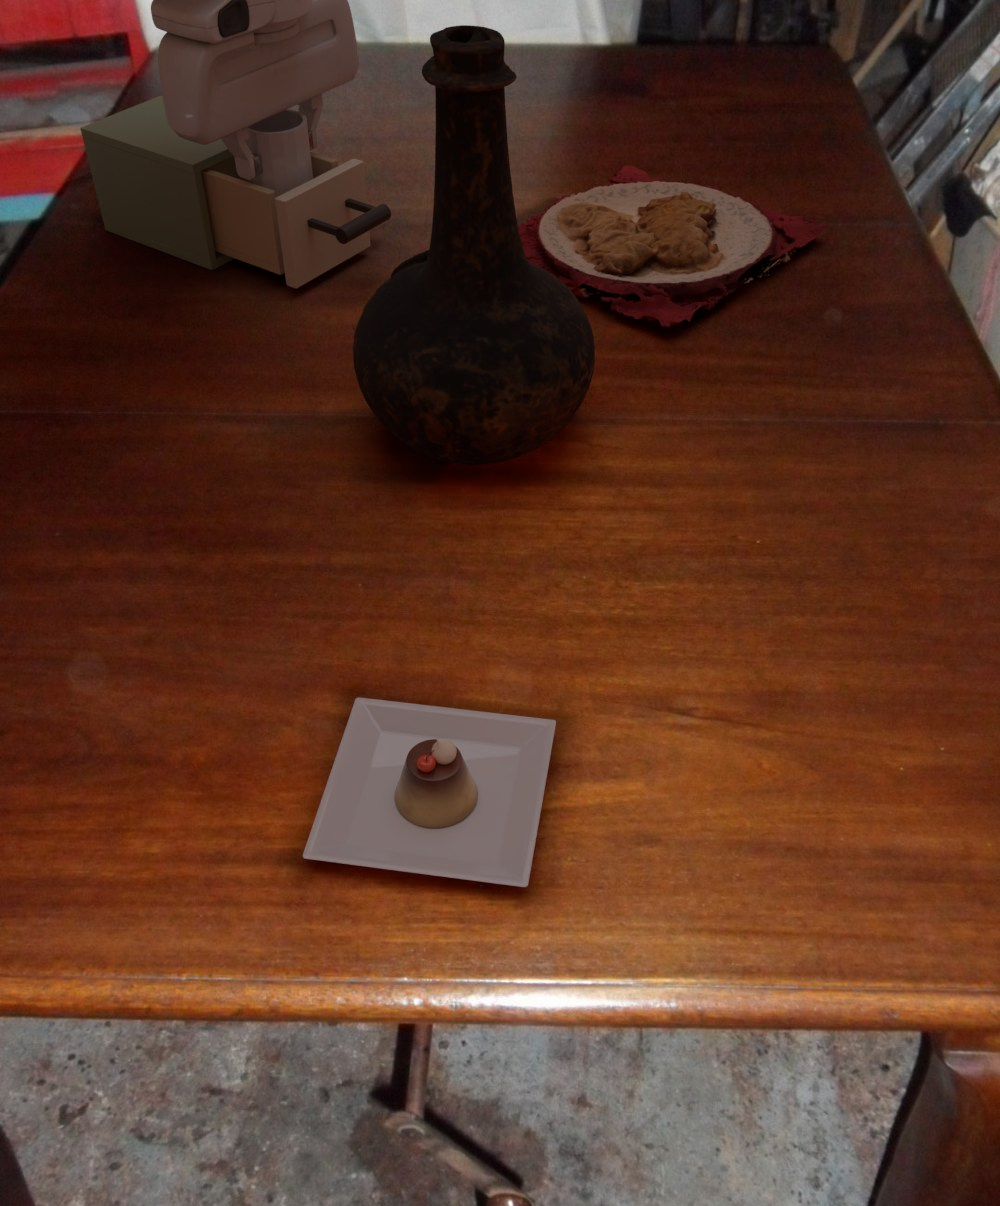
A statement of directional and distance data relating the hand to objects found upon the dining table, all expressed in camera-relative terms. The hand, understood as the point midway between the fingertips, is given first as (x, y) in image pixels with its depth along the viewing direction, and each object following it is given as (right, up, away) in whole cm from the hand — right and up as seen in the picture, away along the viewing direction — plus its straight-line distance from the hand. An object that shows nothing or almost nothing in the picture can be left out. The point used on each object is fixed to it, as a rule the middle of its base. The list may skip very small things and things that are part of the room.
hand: (278, 163), depth 105 cm
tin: (0, -2, +2) cm, 2 cm away
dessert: (+16, -54, -38) cm, 68 cm away
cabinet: (-10, -1, +11) cm, 15 cm away
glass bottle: (+18, -27, -13) cm, 35 cm away
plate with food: (+34, -5, +8) cm, 35 cm away
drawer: (+1, -6, +5) cm, 8 cm away
